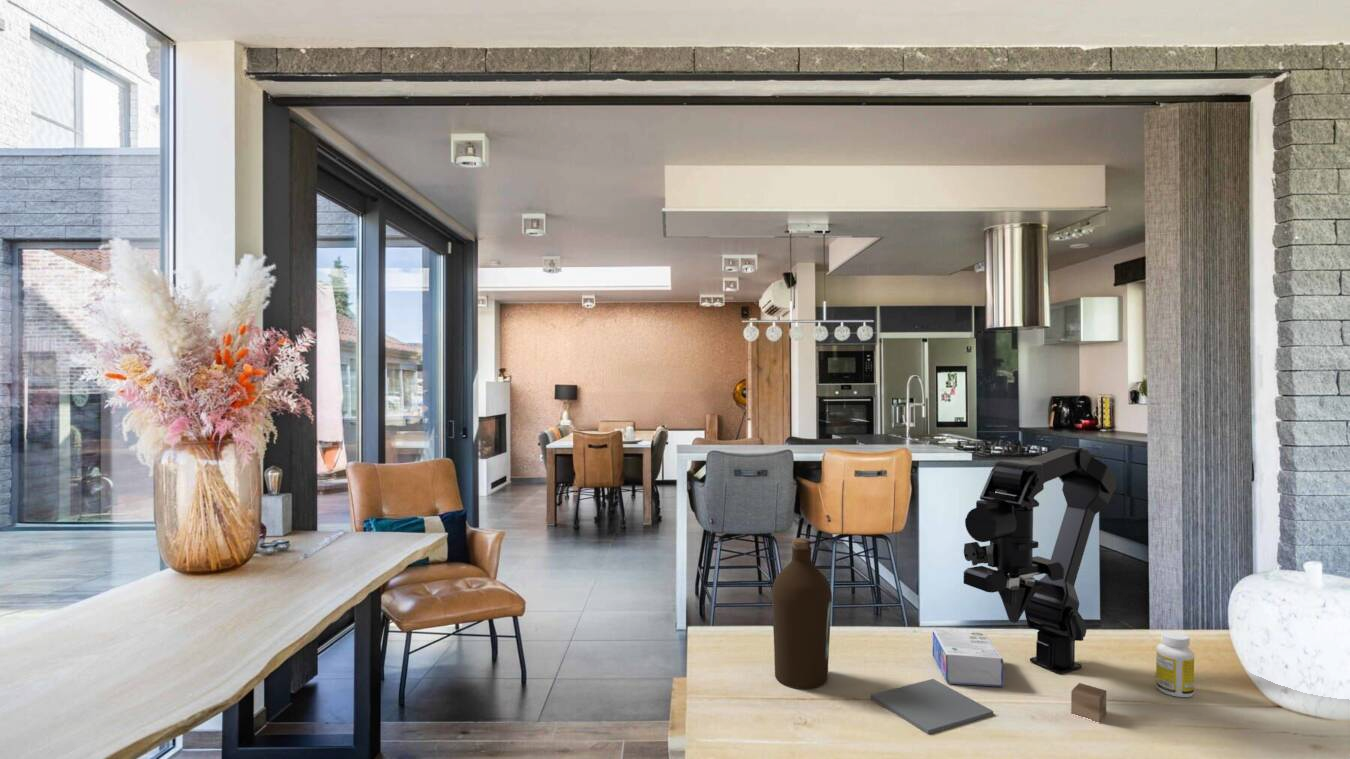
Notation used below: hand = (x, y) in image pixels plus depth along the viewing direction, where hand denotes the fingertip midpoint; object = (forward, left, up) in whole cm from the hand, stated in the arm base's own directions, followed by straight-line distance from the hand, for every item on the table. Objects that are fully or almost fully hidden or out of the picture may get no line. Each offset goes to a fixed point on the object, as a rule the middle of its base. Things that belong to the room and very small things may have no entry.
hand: (1013, 621), depth 128 cm
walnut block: (-2, +13, -11) cm, 17 cm away
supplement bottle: (-23, +14, -11) cm, 29 cm away
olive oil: (+32, -18, -11) cm, 38 cm away
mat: (+19, 0, -11) cm, 22 cm away
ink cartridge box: (+7, -2, -8) cm, 11 cm away
